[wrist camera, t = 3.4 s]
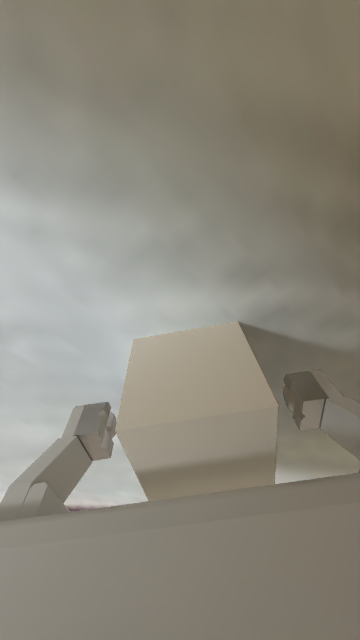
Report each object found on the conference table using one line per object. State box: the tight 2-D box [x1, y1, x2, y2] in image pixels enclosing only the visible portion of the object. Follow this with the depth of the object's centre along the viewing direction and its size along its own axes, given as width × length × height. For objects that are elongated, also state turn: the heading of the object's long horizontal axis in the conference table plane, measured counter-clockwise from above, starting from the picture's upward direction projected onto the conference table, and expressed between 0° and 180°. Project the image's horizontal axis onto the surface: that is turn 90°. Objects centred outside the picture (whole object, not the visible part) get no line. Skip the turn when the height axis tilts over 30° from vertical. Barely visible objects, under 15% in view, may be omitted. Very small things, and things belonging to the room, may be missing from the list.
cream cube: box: [115, 322, 279, 501], centre depth 11 cm, size 5×5×5 cm
